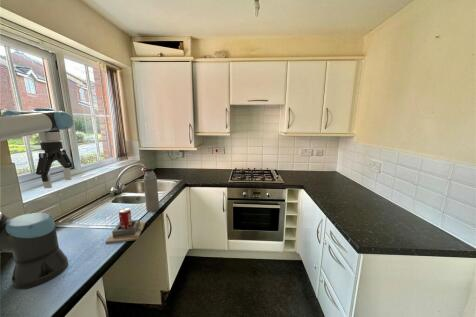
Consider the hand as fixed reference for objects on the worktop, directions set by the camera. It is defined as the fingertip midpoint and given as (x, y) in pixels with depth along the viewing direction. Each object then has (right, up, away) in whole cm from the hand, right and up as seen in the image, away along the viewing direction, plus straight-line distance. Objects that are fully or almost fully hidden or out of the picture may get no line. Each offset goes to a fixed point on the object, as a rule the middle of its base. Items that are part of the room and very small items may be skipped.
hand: (58, 183), depth 94 cm
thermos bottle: (+32, -22, +34) cm, 51 cm away
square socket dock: (+31, -27, +7) cm, 41 cm away
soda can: (+30, -26, +6) cm, 41 cm away
